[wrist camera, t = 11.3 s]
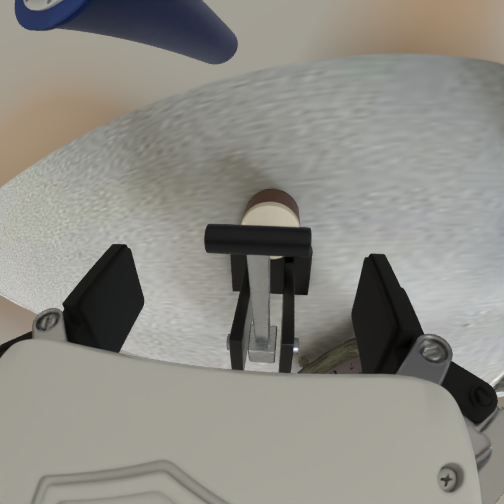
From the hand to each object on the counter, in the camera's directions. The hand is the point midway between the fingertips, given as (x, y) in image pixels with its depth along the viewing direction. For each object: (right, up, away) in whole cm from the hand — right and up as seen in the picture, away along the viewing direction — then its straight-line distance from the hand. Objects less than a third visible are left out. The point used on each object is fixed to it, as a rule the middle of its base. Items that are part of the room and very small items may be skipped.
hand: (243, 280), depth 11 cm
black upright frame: (+3, -1, +23) cm, 23 cm away
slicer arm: (+1, -2, +9) cm, 9 cm away
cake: (+3, +5, +20) cm, 20 cm away
